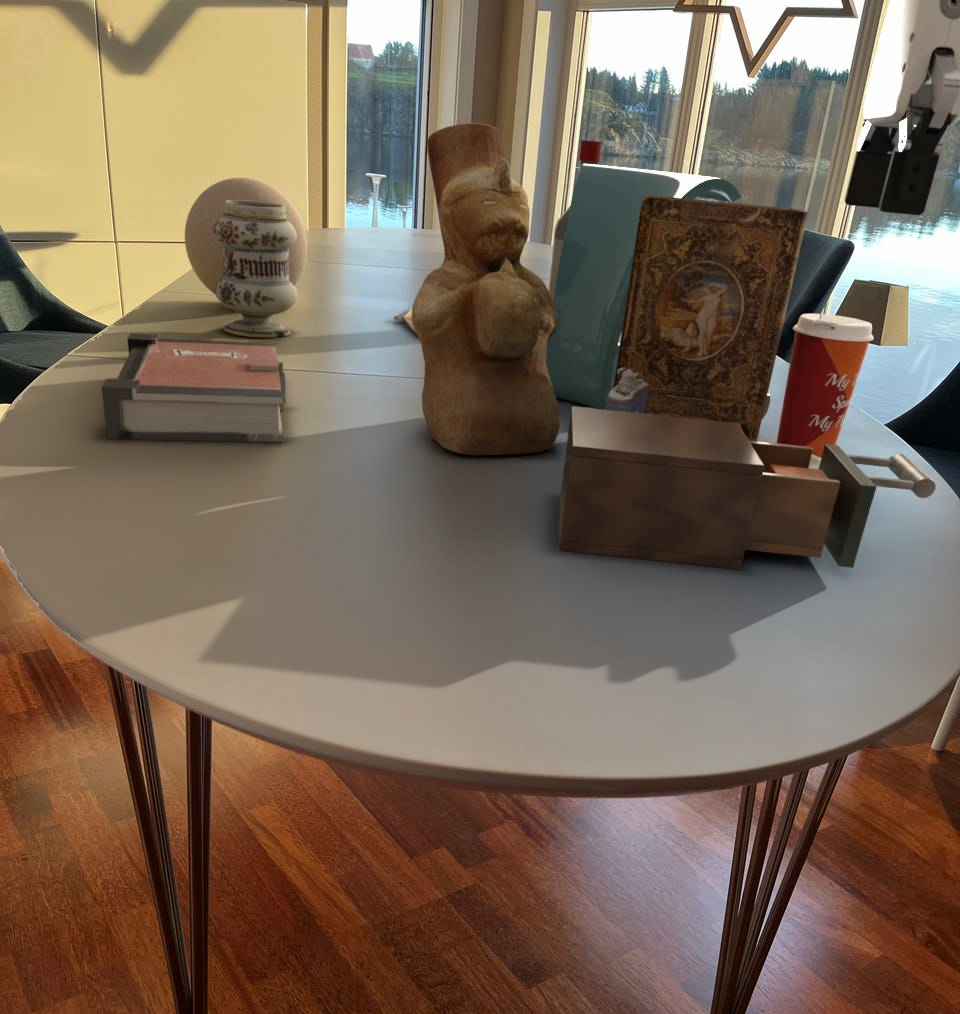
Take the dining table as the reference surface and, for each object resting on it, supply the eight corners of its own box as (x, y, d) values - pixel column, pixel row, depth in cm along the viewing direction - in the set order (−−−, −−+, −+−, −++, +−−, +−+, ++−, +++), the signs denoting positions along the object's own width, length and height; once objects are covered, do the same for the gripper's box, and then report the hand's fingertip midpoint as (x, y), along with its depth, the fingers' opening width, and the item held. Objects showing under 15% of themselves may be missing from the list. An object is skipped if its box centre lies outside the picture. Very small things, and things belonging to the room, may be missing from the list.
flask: (615, 494, 89) (633, 380, 84) (585, 488, 90) (601, 375, 85) (637, 469, 97) (654, 363, 92) (610, 464, 98) (625, 359, 93)
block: (809, 518, 82) (822, 469, 79) (821, 536, 78) (835, 485, 76) (758, 513, 82) (769, 464, 80) (768, 531, 78) (780, 480, 76)
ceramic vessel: (440, 464, 93) (461, 118, 79) (377, 407, 110) (385, 115, 96) (581, 458, 99) (625, 134, 85) (500, 404, 116) (525, 129, 102)
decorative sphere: (325, 315, 161) (326, 186, 152) (210, 317, 151) (203, 179, 142) (282, 295, 176) (280, 176, 166) (174, 296, 166) (165, 169, 156)
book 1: (290, 442, 95) (289, 392, 93) (107, 438, 91) (101, 387, 89) (281, 380, 118) (280, 339, 115) (134, 375, 114) (130, 333, 112)
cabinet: (718, 515, 86) (737, 422, 82) (740, 569, 75) (764, 465, 71) (559, 498, 87) (571, 405, 83) (558, 550, 76) (572, 445, 72)
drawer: (878, 524, 85) (901, 446, 82) (920, 575, 75) (948, 488, 71) (669, 503, 86) (684, 424, 82) (683, 550, 75) (701, 463, 72)
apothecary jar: (260, 343, 137) (257, 207, 128) (199, 329, 141) (192, 198, 133) (313, 333, 146) (313, 206, 138) (254, 321, 151) (251, 198, 143)
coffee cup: (825, 474, 101) (863, 329, 94) (753, 455, 105) (784, 315, 98) (850, 459, 107) (887, 322, 100) (781, 442, 111) (812, 310, 104)
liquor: (545, 325, 171) (566, 138, 157) (544, 316, 179) (563, 138, 165) (595, 329, 171) (620, 143, 157) (592, 321, 179) (615, 143, 165)
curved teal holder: (574, 370, 137) (590, 157, 123) (772, 391, 130) (813, 168, 116) (526, 422, 115) (539, 171, 101) (760, 451, 108) (809, 186, 94)
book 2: (750, 449, 107) (803, 209, 96) (755, 463, 102) (812, 212, 91) (606, 432, 109) (641, 194, 97) (605, 445, 104) (642, 196, 92)
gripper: (1059, -77, 59) (970, 221, 67) (957, -31, 74) (894, 208, 82) (938, -88, 59) (863, 211, 67) (861, -39, 74) (808, 200, 82)
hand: (880, 209), depth 74 cm, fingers open, 9 cm apart
